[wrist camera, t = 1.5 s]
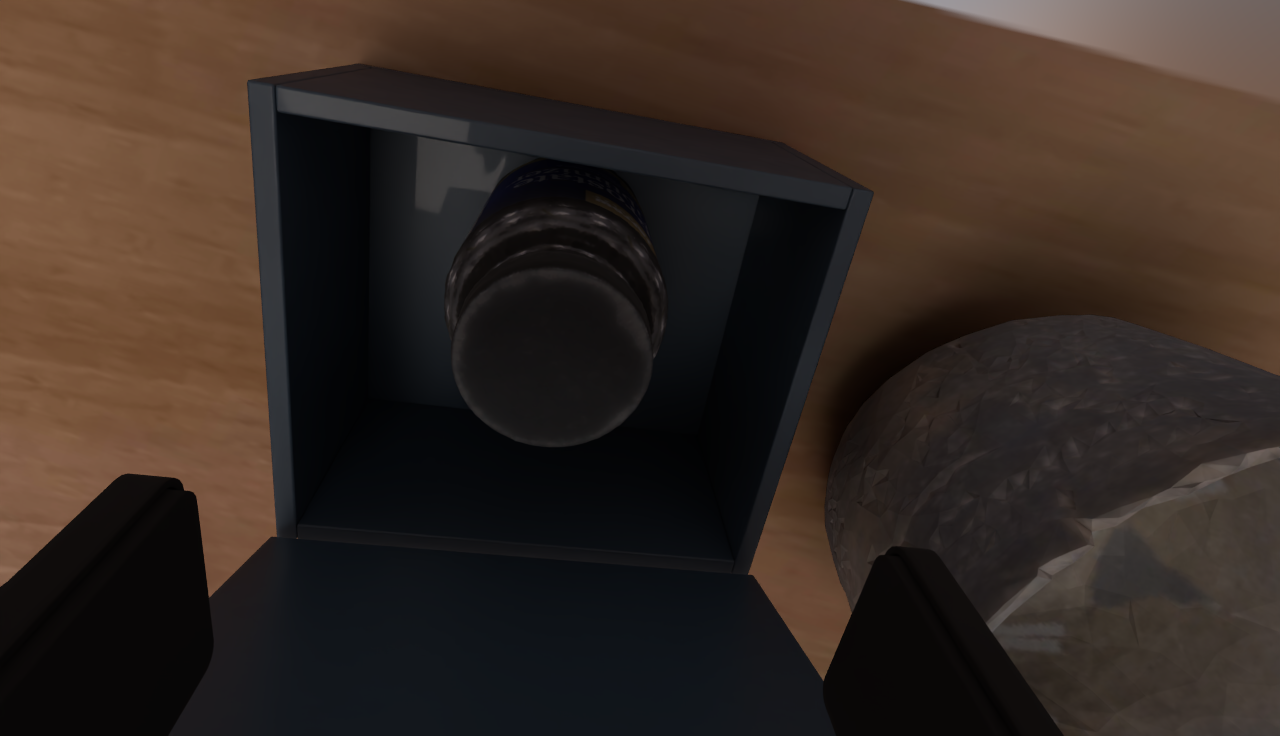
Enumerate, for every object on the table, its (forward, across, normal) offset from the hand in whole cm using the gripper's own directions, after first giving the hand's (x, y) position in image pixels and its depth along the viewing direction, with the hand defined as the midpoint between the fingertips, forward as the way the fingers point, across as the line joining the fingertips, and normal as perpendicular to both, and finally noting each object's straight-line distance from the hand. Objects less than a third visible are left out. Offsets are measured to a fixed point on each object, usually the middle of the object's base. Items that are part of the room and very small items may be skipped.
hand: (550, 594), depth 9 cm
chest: (+18, 0, +2) cm, 19 cm away
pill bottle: (+18, 0, 0) cm, 18 cm away
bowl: (+19, -19, +6) cm, 27 cm away
